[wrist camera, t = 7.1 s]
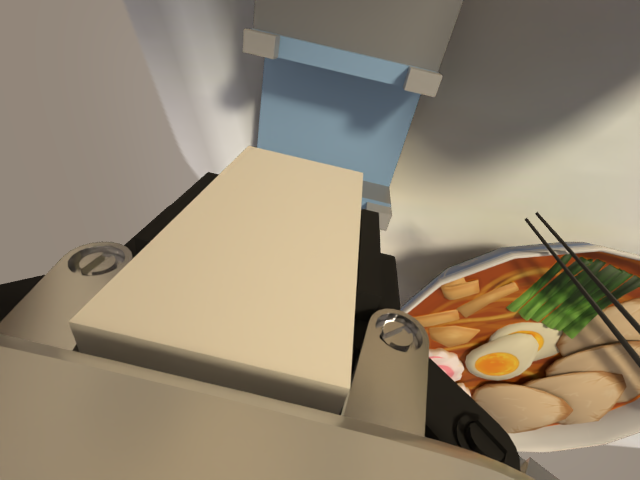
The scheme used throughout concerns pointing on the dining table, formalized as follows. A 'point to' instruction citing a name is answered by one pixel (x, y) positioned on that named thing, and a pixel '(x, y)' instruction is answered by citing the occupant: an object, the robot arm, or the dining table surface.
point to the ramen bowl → (542, 340)
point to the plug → (244, 285)
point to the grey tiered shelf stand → (348, 80)
